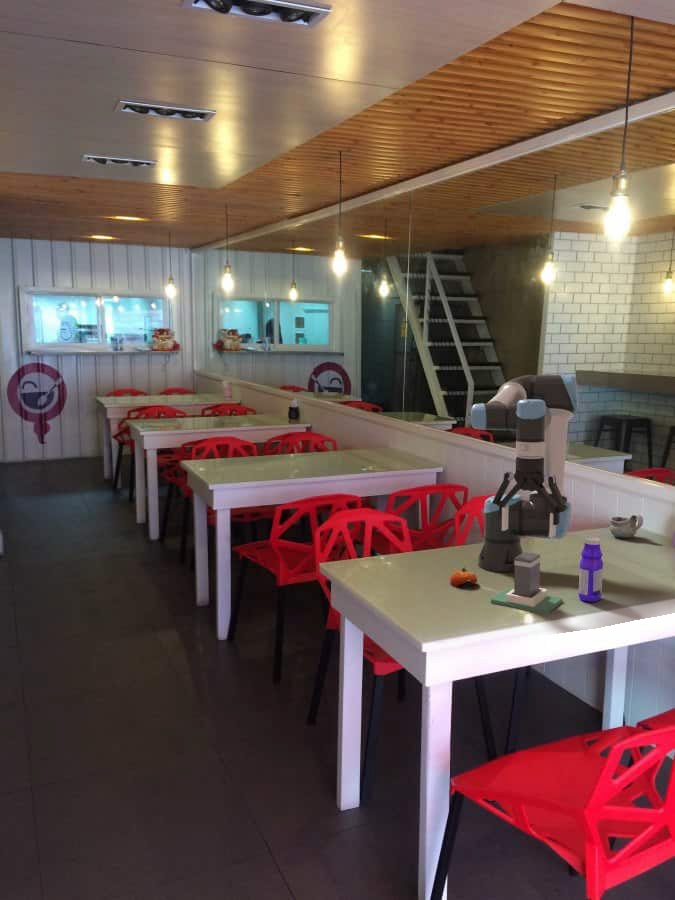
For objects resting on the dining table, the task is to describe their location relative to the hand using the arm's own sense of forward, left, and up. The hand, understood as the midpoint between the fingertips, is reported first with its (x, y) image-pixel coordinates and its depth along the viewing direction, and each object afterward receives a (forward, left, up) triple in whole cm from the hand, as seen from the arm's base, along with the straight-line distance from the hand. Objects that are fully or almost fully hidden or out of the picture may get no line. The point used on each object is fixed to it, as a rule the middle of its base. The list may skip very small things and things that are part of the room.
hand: (528, 533), depth 200 cm
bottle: (+14, +12, -20) cm, 27 cm away
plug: (0, 0, -18) cm, 18 cm away
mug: (+4, +88, -20) cm, 90 cm away
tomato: (-21, +5, -20) cm, 30 cm away
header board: (0, 0, -20) cm, 20 cm away
